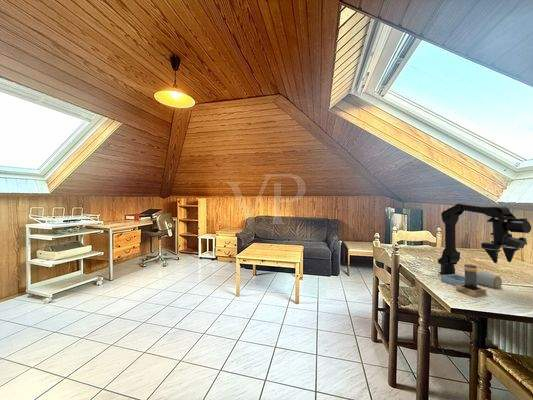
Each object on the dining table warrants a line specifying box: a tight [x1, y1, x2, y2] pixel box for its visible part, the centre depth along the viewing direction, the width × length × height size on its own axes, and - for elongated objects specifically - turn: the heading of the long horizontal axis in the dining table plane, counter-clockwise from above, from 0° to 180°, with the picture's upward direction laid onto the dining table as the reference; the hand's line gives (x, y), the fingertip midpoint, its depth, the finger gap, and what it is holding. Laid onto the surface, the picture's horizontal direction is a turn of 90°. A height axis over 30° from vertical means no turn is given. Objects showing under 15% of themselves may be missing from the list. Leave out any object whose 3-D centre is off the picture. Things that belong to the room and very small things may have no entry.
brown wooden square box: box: [454, 284, 488, 298], centre depth 111 cm, size 9×9×4 cm
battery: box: [463, 263, 478, 290], centre depth 111 cm, size 4×4×14 cm
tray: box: [440, 273, 465, 287], centre depth 123 cm, size 11×11×4 cm
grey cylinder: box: [477, 270, 503, 289], centre depth 121 cm, size 11×8×8 cm
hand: (502, 262), depth 115 cm, fingers open, 9 cm apart
